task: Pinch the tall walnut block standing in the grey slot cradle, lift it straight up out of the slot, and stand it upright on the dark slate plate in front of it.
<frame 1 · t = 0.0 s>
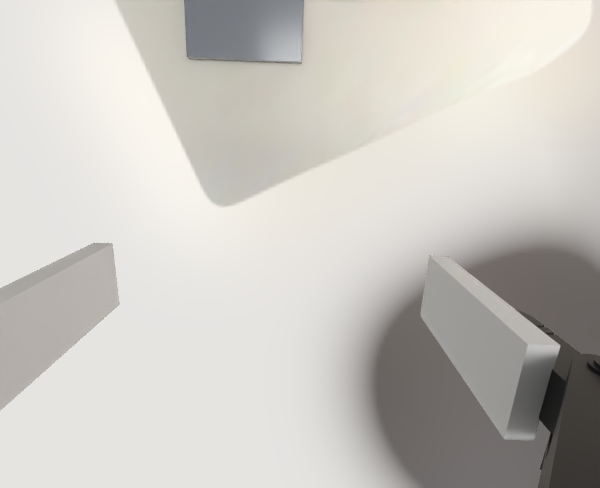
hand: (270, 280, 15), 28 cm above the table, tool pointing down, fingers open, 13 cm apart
slate plate: (245, 23, 37), on the table
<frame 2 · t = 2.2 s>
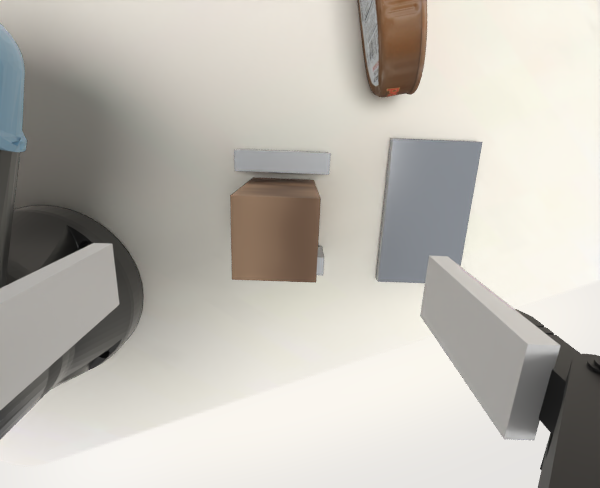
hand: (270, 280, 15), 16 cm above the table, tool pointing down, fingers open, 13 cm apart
walnut block: (282, 208, 30), on the table
cradle: (282, 208, 30), on the table
slate plate: (423, 213, 30), on the table
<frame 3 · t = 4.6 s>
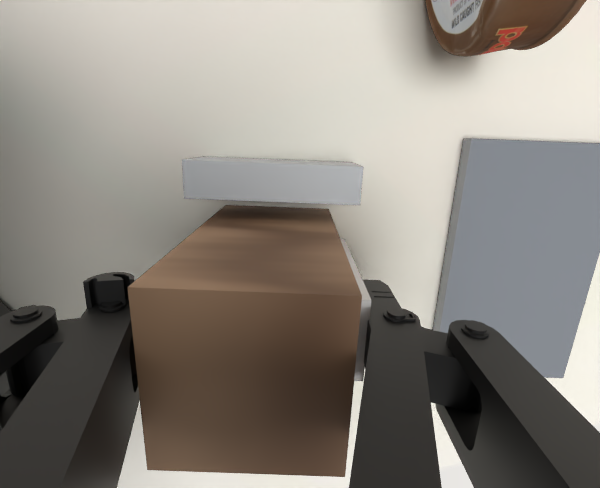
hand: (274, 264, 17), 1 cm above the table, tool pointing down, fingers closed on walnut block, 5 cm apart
walnut block: (276, 255, 18), on the table, touching gripper
cradle: (276, 255, 18), on the table
slate plate: (512, 264, 18), on the table
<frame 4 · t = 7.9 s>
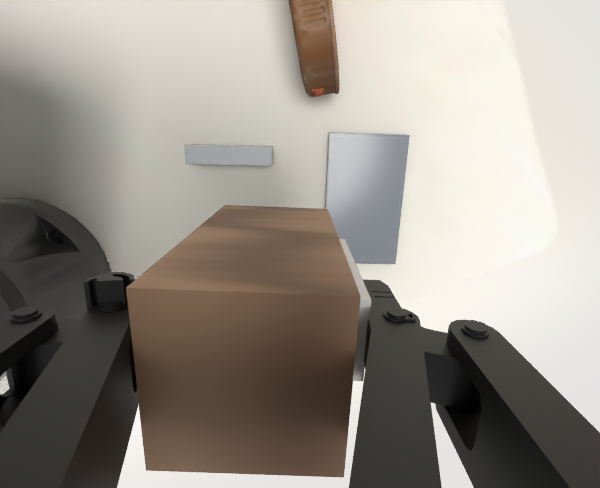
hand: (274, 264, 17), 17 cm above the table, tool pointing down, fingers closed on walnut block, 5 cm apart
walnut block: (275, 255, 18), point 16 cm above the table, touching gripper
tin: (304, 4, 29), on the table
cradle: (235, 198, 33), on the table
slate plate: (362, 200, 33), on the table
when the fingers open (3 cm above the table, at t = 11.7 s): walnut block drops 1 cm, resting on slate plate.
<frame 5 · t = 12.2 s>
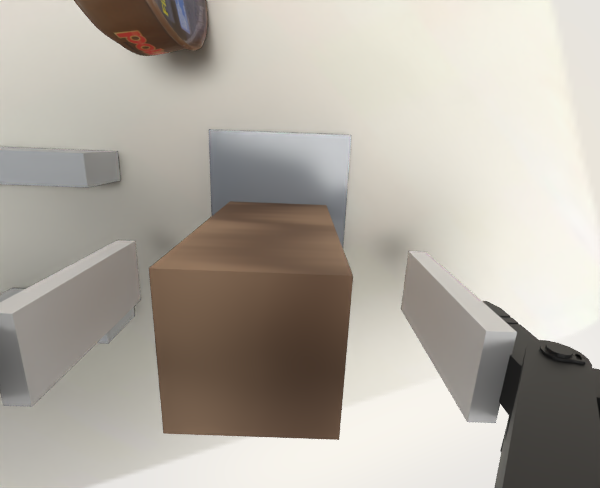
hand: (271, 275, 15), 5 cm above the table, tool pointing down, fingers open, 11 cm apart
walnut block: (277, 249, 19), point 1 cm above the table, touching slate plate
cradle: (64, 236, 20), on the table
slate plate: (278, 244, 20), on the table
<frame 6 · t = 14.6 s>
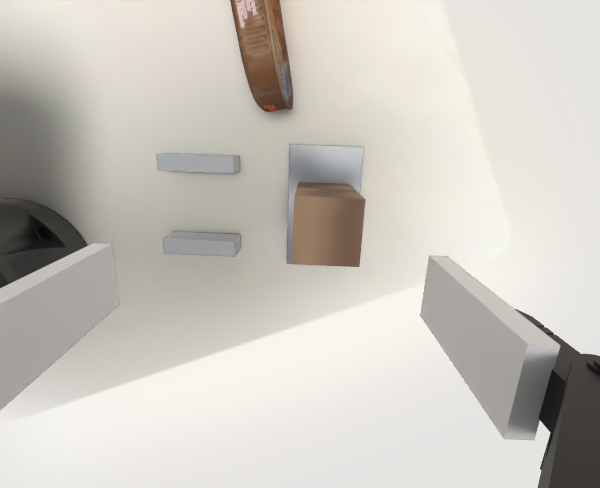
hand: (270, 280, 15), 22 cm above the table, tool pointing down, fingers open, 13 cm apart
walnut block: (323, 208, 35), point 1 cm above the table, touching slate plate
tin: (266, 28, 32), on the table
cradle: (206, 202, 36), on the table
slate plate: (323, 206, 36), on the table
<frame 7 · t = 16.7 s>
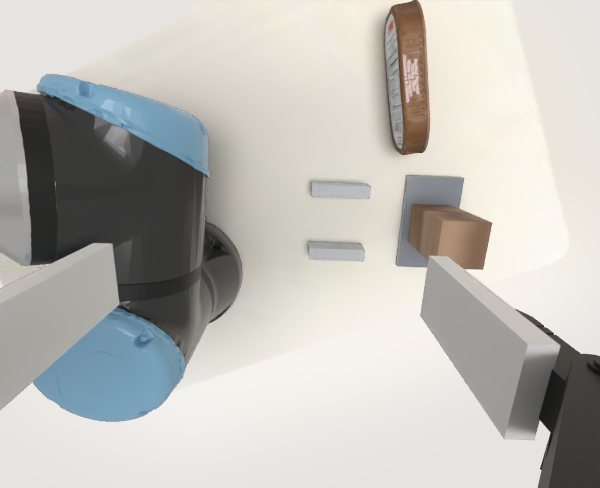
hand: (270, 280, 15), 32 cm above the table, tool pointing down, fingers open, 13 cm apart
walnut block: (429, 223, 46), point 1 cm above the table, touching slate plate
tin: (395, 89, 42), on the table
cradle: (336, 218, 46), on the table
slate plate: (427, 222, 46), on the table
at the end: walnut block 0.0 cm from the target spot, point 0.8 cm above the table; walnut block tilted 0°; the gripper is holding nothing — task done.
